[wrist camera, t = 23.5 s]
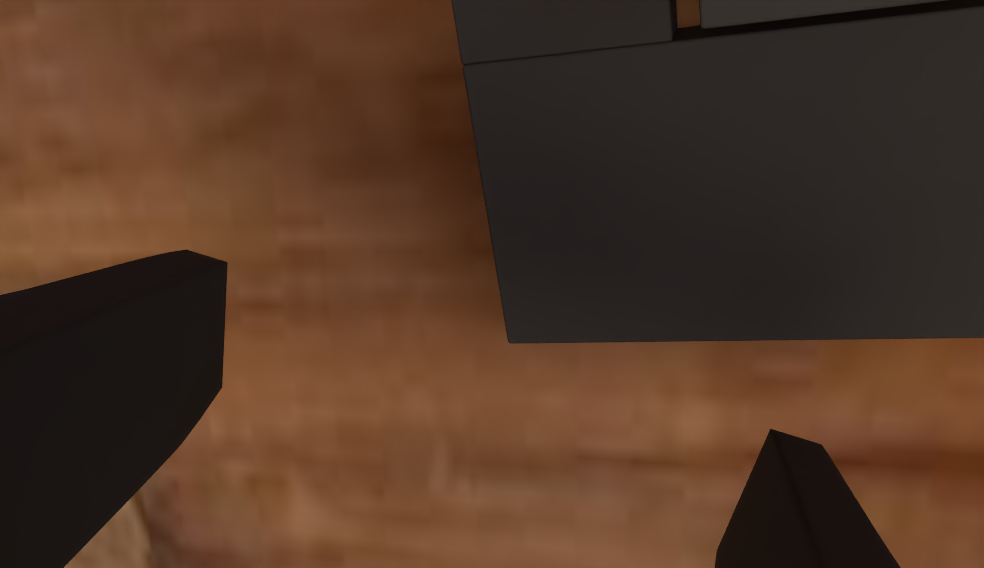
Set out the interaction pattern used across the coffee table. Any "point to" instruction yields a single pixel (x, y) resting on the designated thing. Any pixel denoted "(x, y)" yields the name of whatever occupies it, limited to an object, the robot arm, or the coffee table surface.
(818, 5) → the black cube
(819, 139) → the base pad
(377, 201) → the coffee table surface
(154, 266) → the robot arm
